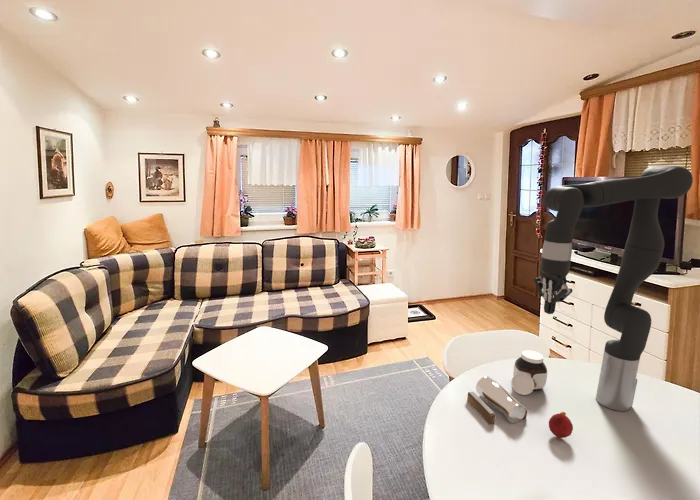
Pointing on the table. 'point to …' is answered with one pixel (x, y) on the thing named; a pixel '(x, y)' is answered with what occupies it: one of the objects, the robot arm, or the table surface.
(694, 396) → the table surface
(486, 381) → the beer glass
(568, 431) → the onion
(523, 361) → the spread jar
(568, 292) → the robot arm
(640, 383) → the table surface
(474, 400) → the cradle
